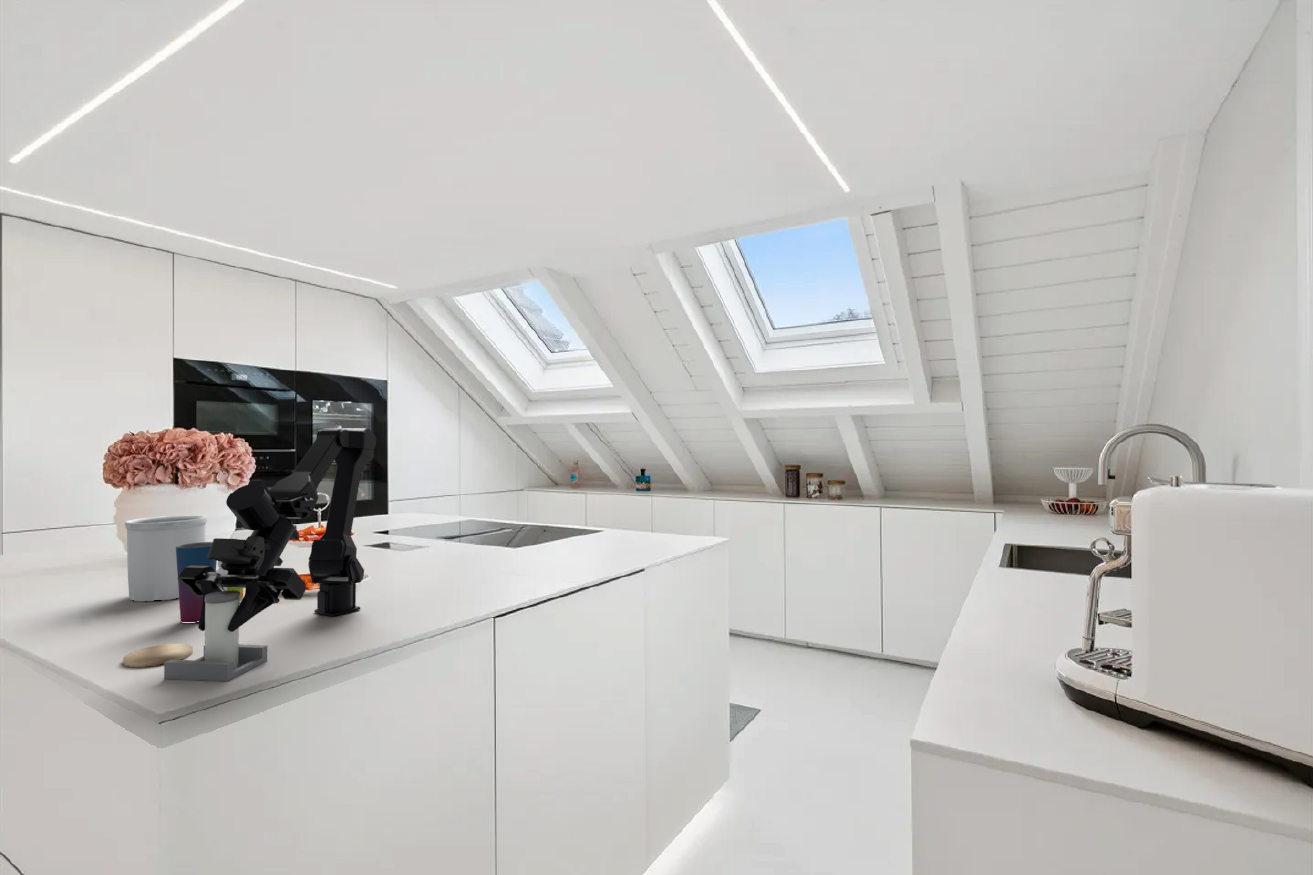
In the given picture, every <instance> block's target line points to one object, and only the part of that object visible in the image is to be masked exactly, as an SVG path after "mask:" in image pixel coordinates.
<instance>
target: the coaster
mask: <svg viewBox="0 0 1313 875" xmlns="http://www.w3.org/2000/svg"><path fill="white" fill-rule="evenodd" d="M191 653H192V654H193V646H192V645H191V644H187V643H168V644H167V643H165V644H159V645H153V646H148V647H144V648H140V649H137V650H134V651H132V652H129V653H127V654H125V655H124V656H123V658H122V664H123V665H124V666H125V667H127V666H129V668H146V667H145V666H151V667H156V666H155V665H158V666H161V665H160V664H163V665H164V662H166V661H169V660H181V659H182V660H185V659H186V658H188V657H190V656H191V655H192V654H191ZM190 654H191V655H190ZM189 655H190V656H189Z"/></svg>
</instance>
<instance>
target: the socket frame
mask: <svg viewBox="0 0 1313 875" xmlns="http://www.w3.org/2000/svg"><path fill="white" fill-rule="evenodd" d="M267 661H268V645H266V644H265V645H264V644H244V643H243V644H239V654H238V663H244V664H242V665H241V666H238V668H237V669H235V670H233V662H225V661H205V644H204V645H203V656H201V657H199V658H196V659H194V660H193V659H191V660H190V659H189V660H188V659H182V660H169V661H166V662H164V664H163V665H164V667H163V668H164V669H163V671H164V672H163V673H164V674H163V676H164V677H163V679H164V680H180V679H181V680H182V681H183V680H184V681H185V680H187V681H205V682H206V681H207V682H208V681H209V682H210V681H212V682H213V681H214V682H229V681H230V680H232V679H234V678H237V677H238V676H240V675H242V674H244V673H246V672H248V671H249V670H252V669H254V668H256V667H258V666H259V665H262V664H263V663H265V662H267Z"/></svg>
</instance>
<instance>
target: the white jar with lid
mask: <svg viewBox="0 0 1313 875" xmlns="http://www.w3.org/2000/svg"><path fill="white" fill-rule="evenodd" d="M239 598H240V592H239V591H221V592H214V593H210V594H207V595H205V630H204V645H205V661H225V662H233V670H235V669H237V668H239V662H238V654H239V641H240V640H239V637H240V627H239V628H238V629H236V630H235V631H233V632H230V631H229V630H228V626H229V623H230V621H231V619H232V617H233V615H234V614H235V612H236V610H237V608H238V606H239V605H240V603H239Z"/></svg>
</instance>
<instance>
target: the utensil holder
mask: <svg viewBox="0 0 1313 875" xmlns="http://www.w3.org/2000/svg"><path fill="white" fill-rule="evenodd" d="M207 521H208V518H207V516H206V515H205V514H182V515H181V514H178V515H176V514H175V515H163V516H152V517H143V518H134V519H129V520H126V521H125V523H124V527H125V529H126V551H127V552H126V553H127V554H126V555H127V556H126V557H127V558H126V559H127V561H126V562H127V584H128V585H127V586H128V598H129V600H130V601H132V600H134V601H133V602H145V601H147V602H155V601H154V600H162V601H170V600H174V599H176V598H177V599H179V588H178V579H177V578H178V573H177V558H176V546H177V545H181V544H187V543H196V542H206V523H207Z"/></svg>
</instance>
